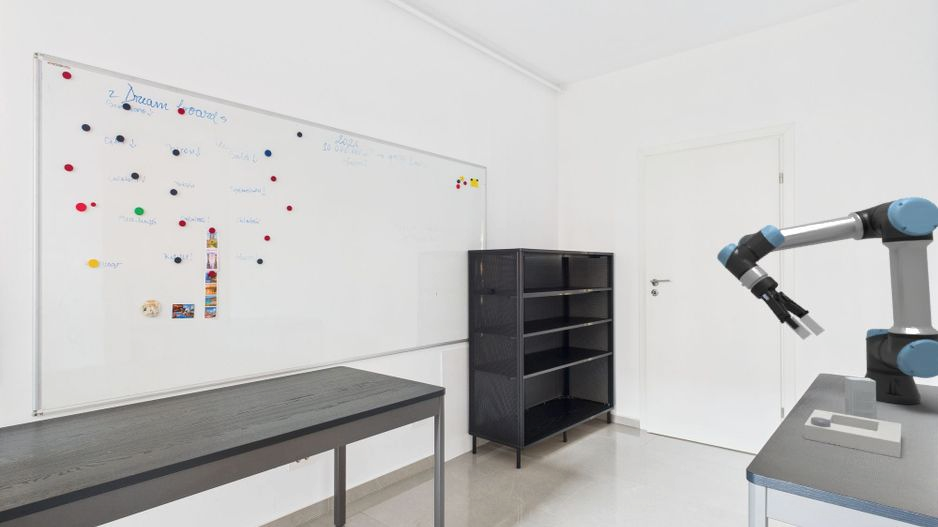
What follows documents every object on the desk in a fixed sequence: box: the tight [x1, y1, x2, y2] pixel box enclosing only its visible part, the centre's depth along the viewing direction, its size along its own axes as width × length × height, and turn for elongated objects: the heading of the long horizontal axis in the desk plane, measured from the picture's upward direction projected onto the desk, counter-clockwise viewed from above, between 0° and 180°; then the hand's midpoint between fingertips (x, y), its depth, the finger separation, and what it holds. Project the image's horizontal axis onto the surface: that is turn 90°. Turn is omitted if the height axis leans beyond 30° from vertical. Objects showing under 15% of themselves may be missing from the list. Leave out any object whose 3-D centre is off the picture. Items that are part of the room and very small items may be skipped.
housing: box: [803, 409, 902, 459], centre depth 121 cm, size 18×18×5 cm
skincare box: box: [843, 376, 877, 420], centre depth 135 cm, size 6×4×12 cm
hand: (814, 334), depth 143 cm, fingers open, 13 cm apart
